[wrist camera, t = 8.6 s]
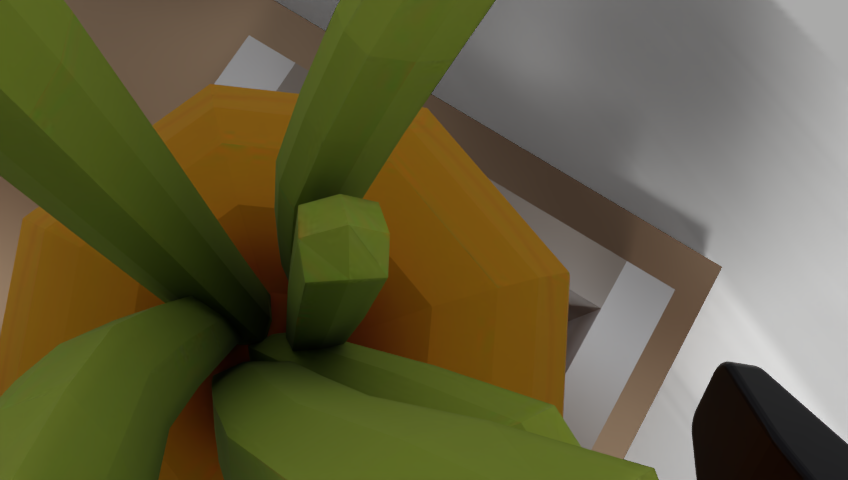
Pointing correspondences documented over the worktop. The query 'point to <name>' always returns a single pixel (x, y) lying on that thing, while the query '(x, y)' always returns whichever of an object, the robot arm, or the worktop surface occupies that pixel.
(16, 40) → the carrot
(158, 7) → the holder
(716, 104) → the worktop surface
